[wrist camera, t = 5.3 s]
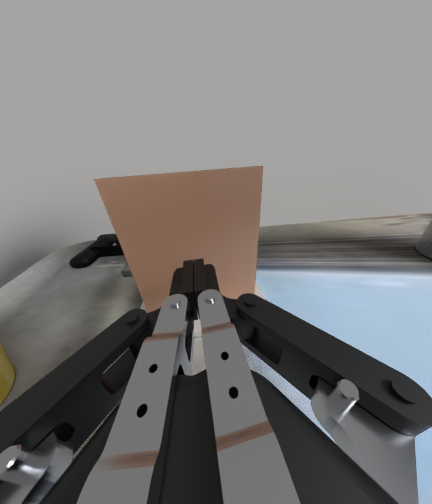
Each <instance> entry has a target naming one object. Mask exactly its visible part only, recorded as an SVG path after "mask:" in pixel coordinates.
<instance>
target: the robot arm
mask: <svg viewBox="0 0 432 504" xmlns="http://www.w3.org/2000/svg"><path fill="white" fill-rule="evenodd" d="M415 249H416V250H417V251H418V252H420V253H421V254H423V255H425V256H427V257H429V258H432V220H431V222H430V223H429V225H428V227H427V228H426V230H425V231H424V233H423V235H422V236H421V238H420V240H419V241H418V243H417V245H416V246H415ZM198 316H199V320H200V322H201V329H202V330H201V331H202V339H203V347H204V355H205V362H206V370H204V371H202V372H200V373H198V374H196V375H193V376H192V356H193V343H194V320H198ZM241 343H242V344H243V345H244V346H246V347H247V348H248V349H249V350H250V351H252V352H253V353H254V354H255V355H256V356H258V357H259V358H260V359H261V360H263V361H264V362H265V363H266V364H267V365H269V366H270V367H271V368H272V369H274V370H275V371H276V372H277V373H278V374H280V375H281V376H282V377H283V378H284V379H286V380H287V381H288V382H289V383H291V384H292V385H293V386H294V387H295V388H297V389H298V390H299V391H300V392H302V393H303V394H304V395H305V396H306V397H308V398H309V399H310V400H311V406H312V410H313V412H314V415H315V417H316V418H317V420H318V421H319V423H320V424H321V425H322V427H323V428H324V429H325V430H326V431H327V432H328V433H329V434H330V435H331V437H332V438H333V439H334V441H335V442H336V444H335V443H334V442H333V441H332V440H331V439H330V438H329V437H328V436H327V435H326V434H325V433H324V432H323V431H322V430H321V429H320V428H318V427H317V426H316V425H315V424H314V423H313V422H312V421H311V420H310V419H309V418H308V417H307V416H306V415H305V414H304V413H303V412H302V411H300V410H299V409H298V408H297V407H296V406H295V405H294V404H293V403H292V402H291V401H290V400H289V399H288V398H287V397H286V396H285V395H284V394H282V393H281V392H280V391H279V390H278V389H277V388H276V387H275V386H274V385H273V384H272V383H271V382H270V381H269V380H267V379H266V378H265V377H263V376H262V375H260V374H259V373H257V372H255V371H252V370H250V368H249V365H248V362H247V360H246V357H245V354H244V351H243V348H242V345H241ZM127 348H129V349H128V350H127V351H126V352H125V353H124V354H123V355H122V356H121V357H120V358H119V359H118V360H117V361H116V362H115V363H114V364H113V365H112V366H111V367H110V368H109V369H108V370H107V371H106V372H105V373H104V374H102V373H103V372H104V371H105V370H106V369H107V368H108V367H109V366H110V365H111V364H112V363H113V362H114V361H115V360H116V359H117V358H118V357H119V356H120V355H121V354H122V353H123V352H124V351H125V350H126V349H127ZM123 395H124V396H123ZM122 397H123V399H122V401H121V403H120V404H119V405H118V406H117V407H116V408H115V409H114V410H113V412H112V413H111V414H110V415H109V416H108V418H107V419H106V420H105V421H104V423H103V424H102V425H101V426H100V428H99V429H98V430H97V431H96V433H95V434H94V435H93V436H92V438H91V439H90V440H89V441H88V443H87V444H86V445H85V446H84V448H83V449H82V450H81V451H80V453H79V454H78V455H77V456H76V458H75V459H74V460H73V461H72V457H73V455H74V453H75V452H76V451H77V450H78V449H79V447H80V446H81V445H82V444H83V443H84V442H85V440H86V439H87V438H88V437H89V436H90V434H91V433H92V432H93V431H94V430H95V428H96V427H97V426H98V425H99V424H100V423H101V421H102V420H103V419H104V418H105V417H106V415H107V414H108V413H109V412H110V411H111V410H112V408H113V407H114V406H115V405H116V404H117V402H118V401H119V400H120V399H121V398H122ZM431 427H432V398H431V397H430V396H429V395H428V393H427V392H426V391H425V390H424V389H423V388H422V387H421V386H419V385H418V384H417V383H416V382H415V381H413V380H412V379H410V378H409V377H407V376H406V375H404V374H402V373H401V372H399V371H397V370H395V369H393V368H391V367H389V366H388V365H386V364H384V363H382V362H380V361H378V360H376V359H374V358H373V357H371V356H369V355H367V354H365V353H363V352H361V351H360V350H358V349H356V348H354V347H352V346H350V345H348V344H347V343H345V342H343V341H341V340H339V339H337V338H335V337H334V336H332V335H330V334H328V333H326V332H324V331H322V330H320V329H319V328H317V327H315V326H313V325H311V324H309V323H307V322H306V321H304V320H302V319H300V318H298V317H296V316H294V315H293V314H291V313H289V312H287V311H285V310H283V309H281V308H280V307H278V306H276V305H274V304H272V303H270V302H268V301H267V300H265V299H263V298H261V297H259V296H257V295H255V294H252V293H245V294H242V295H240V296H239V297H238V299H231V298H227V297H225V296H223V295H222V294H221V292H220V290H219V285H218V280H217V276H216V271H215V267H214V266H213V265H212V264H206V265H204V259H203V258H202V259H194V260H186V261H183V268H177V269H176V270H175V271H174V273H173V278H172V283H171V288H170V293H169V297H168V298H166V299H165V300H164V302H163V304H162V307H160V308H159V309H157V310H154V311H152V312H149V313H147V312H146V311H145V310H143V309H134V310H131V311H129V312H127V313H126V314H124V315H123V316H122V317H120V318H119V319H118V320H117V321H115V322H114V323H113V324H111V325H110V326H109V327H108V328H106V329H105V330H104V331H103V332H101V333H100V334H99V335H97V336H96V337H95V338H94V339H92V340H91V341H90V342H88V343H87V344H86V345H85V346H83V347H82V348H81V349H80V350H78V351H77V352H76V353H74V354H73V355H72V356H71V357H69V358H68V359H67V360H65V361H64V362H63V363H62V364H60V365H59V366H58V367H56V368H55V369H54V370H53V371H51V372H50V373H49V374H48V375H46V376H45V377H44V378H42V379H41V380H40V381H39V382H37V383H36V384H35V385H33V386H32V387H31V388H30V389H28V390H27V391H26V392H24V393H23V394H22V395H21V396H19V397H18V398H17V399H16V400H14V401H13V402H12V403H10V404H9V405H8V406H7V407H5V408H4V409H3V410H1V411H0V504H418V489H417V473H416V457H415V437H416V436H417V435H418V434H420V433H422V432H423V431H425V430H427V429H429V428H431ZM71 461H72V463H71Z"/></svg>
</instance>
